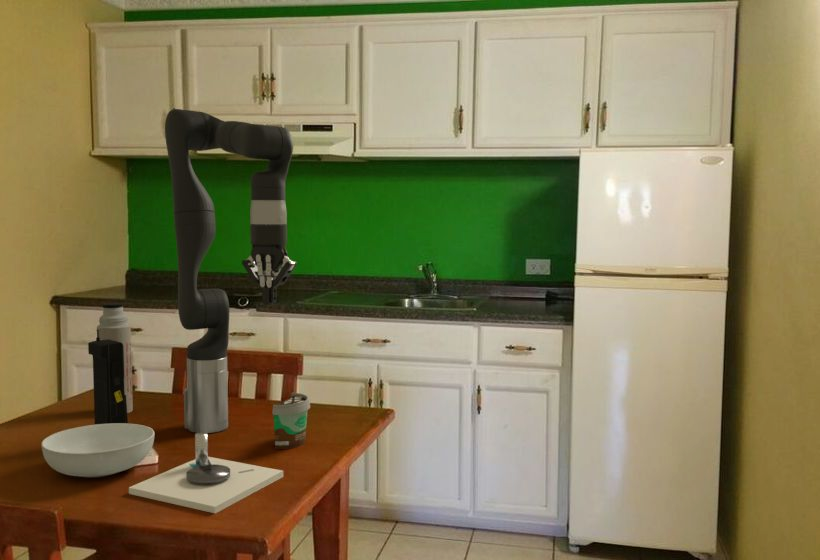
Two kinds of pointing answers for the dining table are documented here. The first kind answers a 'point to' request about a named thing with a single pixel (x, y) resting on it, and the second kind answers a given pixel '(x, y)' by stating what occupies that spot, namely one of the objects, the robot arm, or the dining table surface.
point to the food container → (291, 421)
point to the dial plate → (206, 486)
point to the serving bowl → (98, 449)
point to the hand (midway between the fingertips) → (269, 304)
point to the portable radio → (108, 381)
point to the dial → (205, 465)
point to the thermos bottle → (120, 331)
